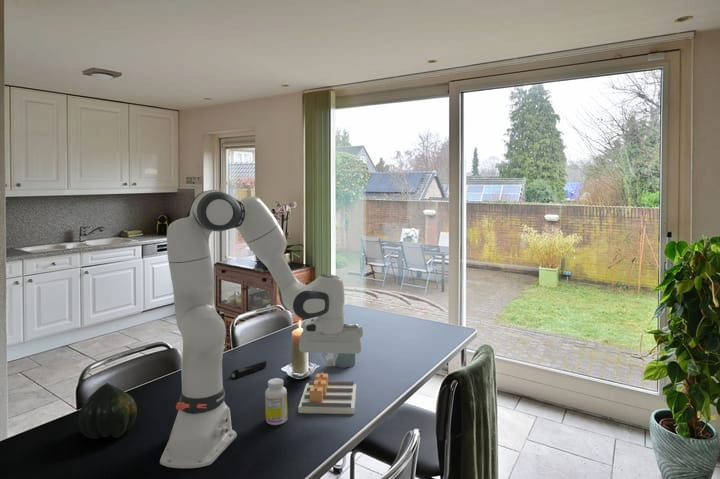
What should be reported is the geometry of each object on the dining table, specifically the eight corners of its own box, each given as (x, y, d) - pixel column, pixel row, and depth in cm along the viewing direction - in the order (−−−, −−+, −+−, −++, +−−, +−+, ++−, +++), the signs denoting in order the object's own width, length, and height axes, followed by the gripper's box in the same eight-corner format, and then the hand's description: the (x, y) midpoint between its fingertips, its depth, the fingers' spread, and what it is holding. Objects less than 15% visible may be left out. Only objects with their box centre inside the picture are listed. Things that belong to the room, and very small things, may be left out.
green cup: (360, 366, 185) (360, 338, 183) (336, 370, 181) (336, 341, 180) (351, 358, 194) (351, 330, 193) (328, 361, 190) (328, 333, 189)
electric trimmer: (268, 369, 183) (268, 361, 182) (235, 380, 171) (234, 372, 171) (263, 367, 185) (263, 359, 185) (229, 377, 174) (229, 369, 174)
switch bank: (354, 414, 145) (354, 404, 145) (298, 412, 146) (298, 403, 146) (356, 389, 163) (356, 380, 163) (306, 388, 164) (306, 380, 164)
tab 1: (327, 389, 158) (327, 375, 158) (315, 389, 159) (315, 375, 158) (328, 385, 161) (328, 372, 161) (317, 385, 162) (316, 371, 161)
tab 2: (325, 396, 153) (325, 382, 152) (313, 396, 153) (313, 381, 153) (326, 392, 156) (326, 378, 155) (314, 392, 156) (314, 378, 156)
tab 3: (322, 404, 148) (321, 389, 147) (309, 404, 148) (309, 389, 147) (323, 400, 151) (322, 385, 150) (311, 399, 151) (311, 385, 150)
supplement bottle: (277, 413, 146) (277, 374, 145) (291, 419, 142) (291, 380, 140) (261, 421, 141) (260, 381, 139) (275, 428, 137) (274, 387, 135)
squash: (106, 435, 122) (127, 380, 131) (58, 432, 125) (82, 378, 134) (135, 446, 134) (152, 395, 142) (90, 443, 136) (110, 393, 145)
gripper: (363, 321, 149) (362, 362, 150) (301, 320, 150) (301, 361, 151) (362, 327, 143) (362, 369, 144) (298, 326, 143) (298, 368, 145)
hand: (330, 365), depth 148 cm, fingers closed
